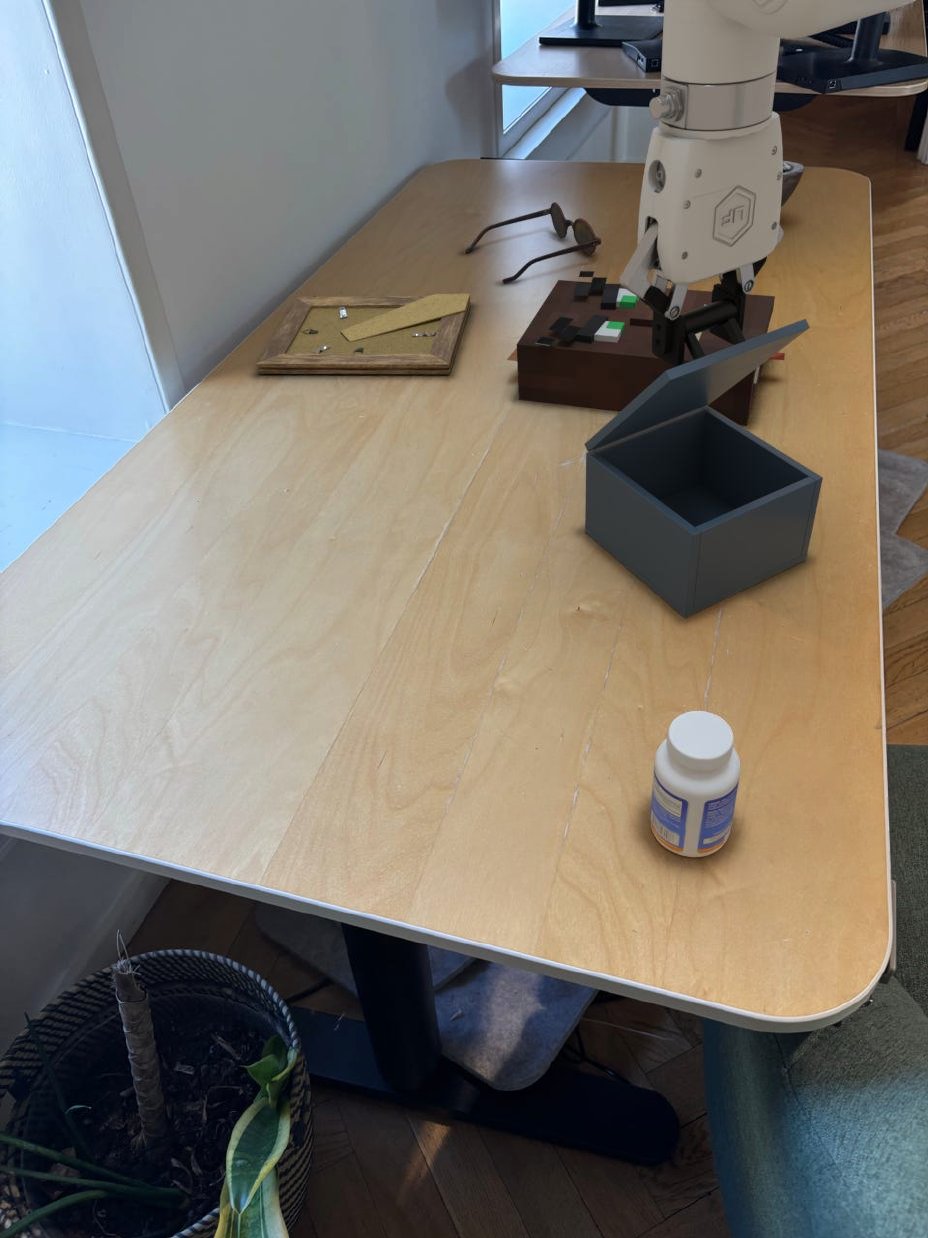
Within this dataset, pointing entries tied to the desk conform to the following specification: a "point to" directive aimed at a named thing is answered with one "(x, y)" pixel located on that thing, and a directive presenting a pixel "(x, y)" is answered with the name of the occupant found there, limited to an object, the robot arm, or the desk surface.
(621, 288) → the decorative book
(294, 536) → the desk surface
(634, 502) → the grey open box
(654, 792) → the pill bottle
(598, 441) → the lid
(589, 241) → the eyeglasses
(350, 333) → the picture frame
